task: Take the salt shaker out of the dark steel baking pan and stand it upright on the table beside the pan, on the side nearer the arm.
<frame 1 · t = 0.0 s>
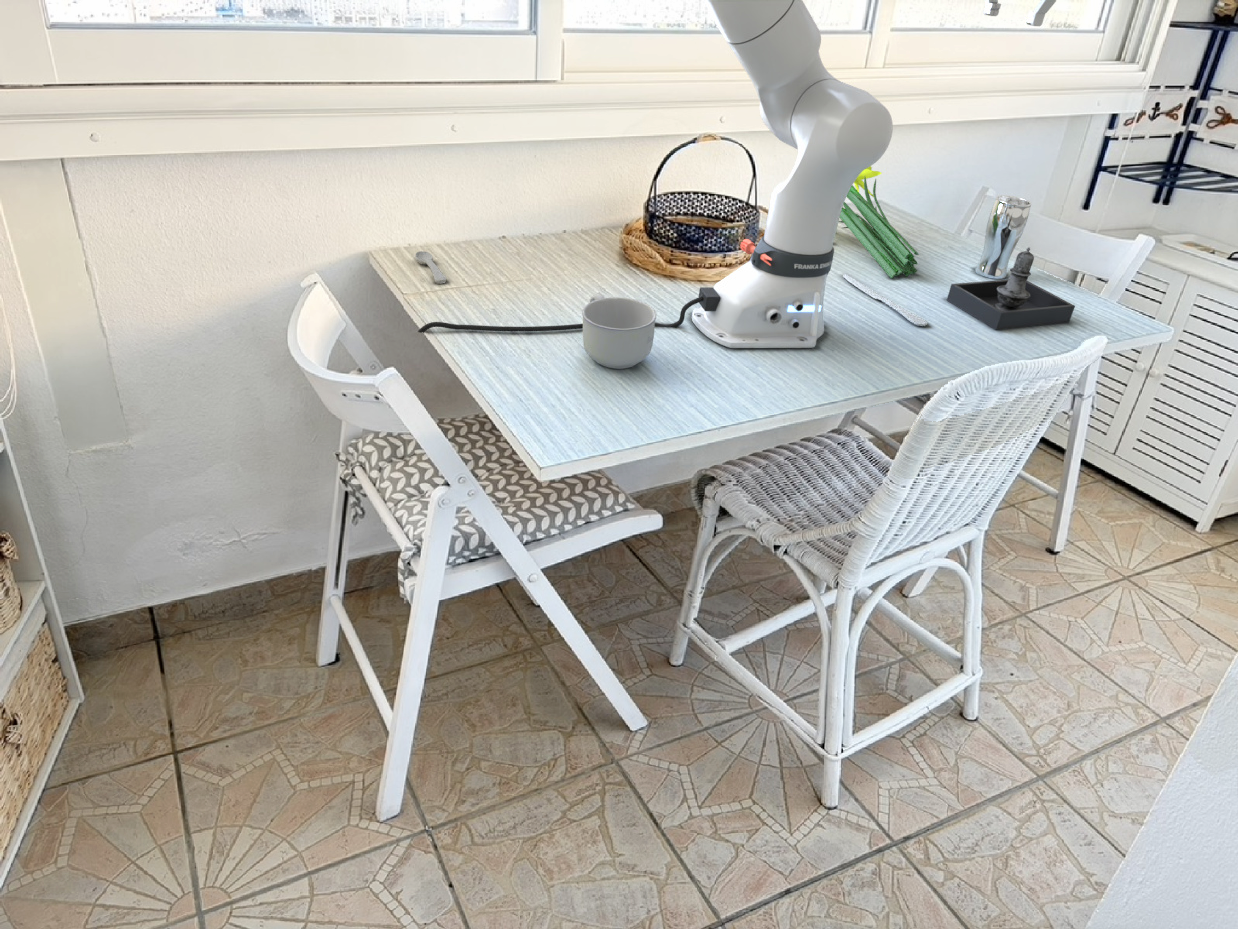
hand: (1011, 20, 141), 48 cm above the table, tool pointing down, fingers open, 8 cm apart
beer glass: (990, 274, 187), on the table
salt shaker: (1007, 310, 170), resting on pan
spoon: (430, 272, 161), on the table
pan: (1007, 311, 170), on the table
daffodil flowers: (863, 251, 192), on the table
butter knife: (881, 300, 169), on the table
teacup: (611, 356, 140), on the table
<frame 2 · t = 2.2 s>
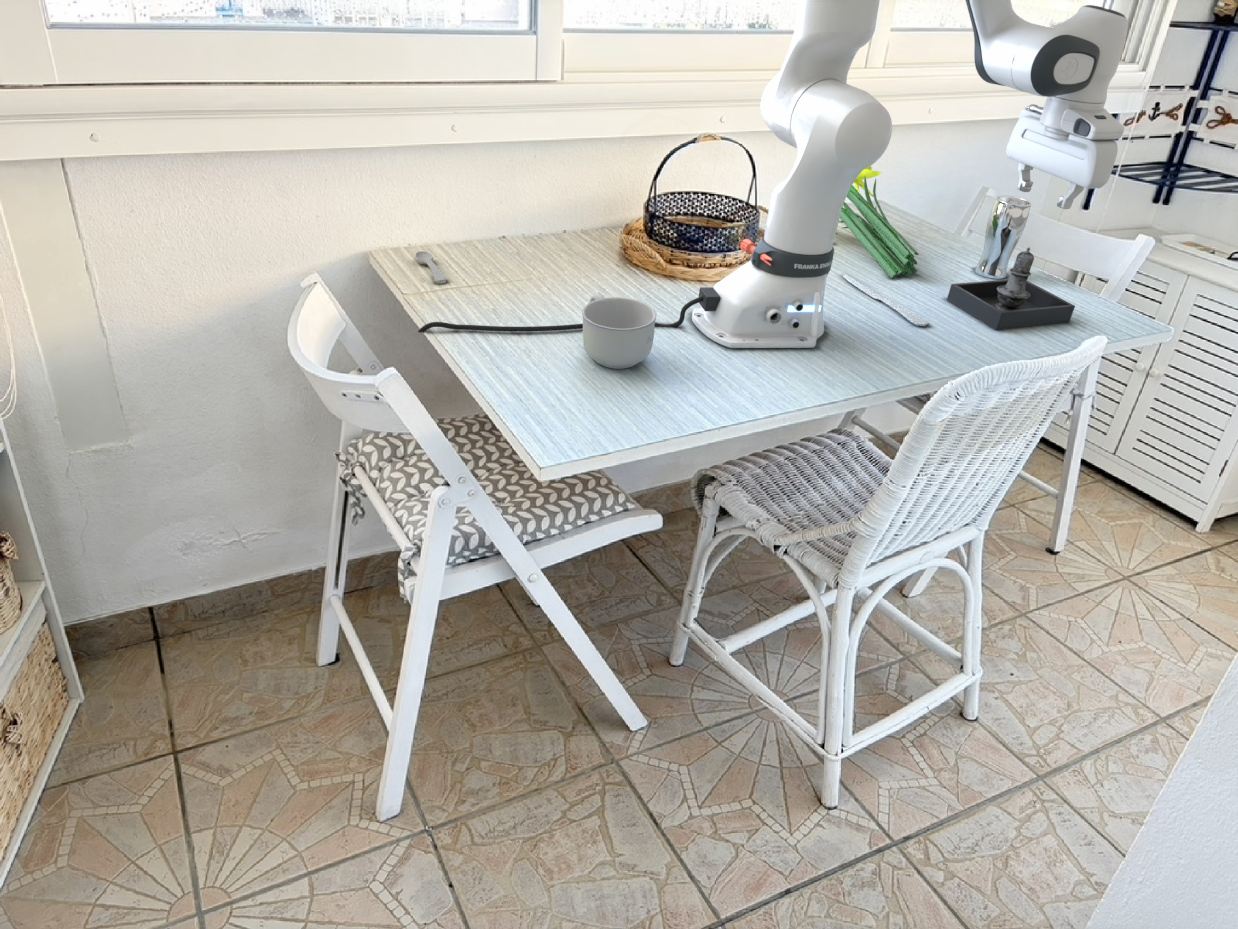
hand: (1042, 199, 159), 21 cm above the table, tool pointing down, fingers open, 8 cm apart
nothing on the table moved.
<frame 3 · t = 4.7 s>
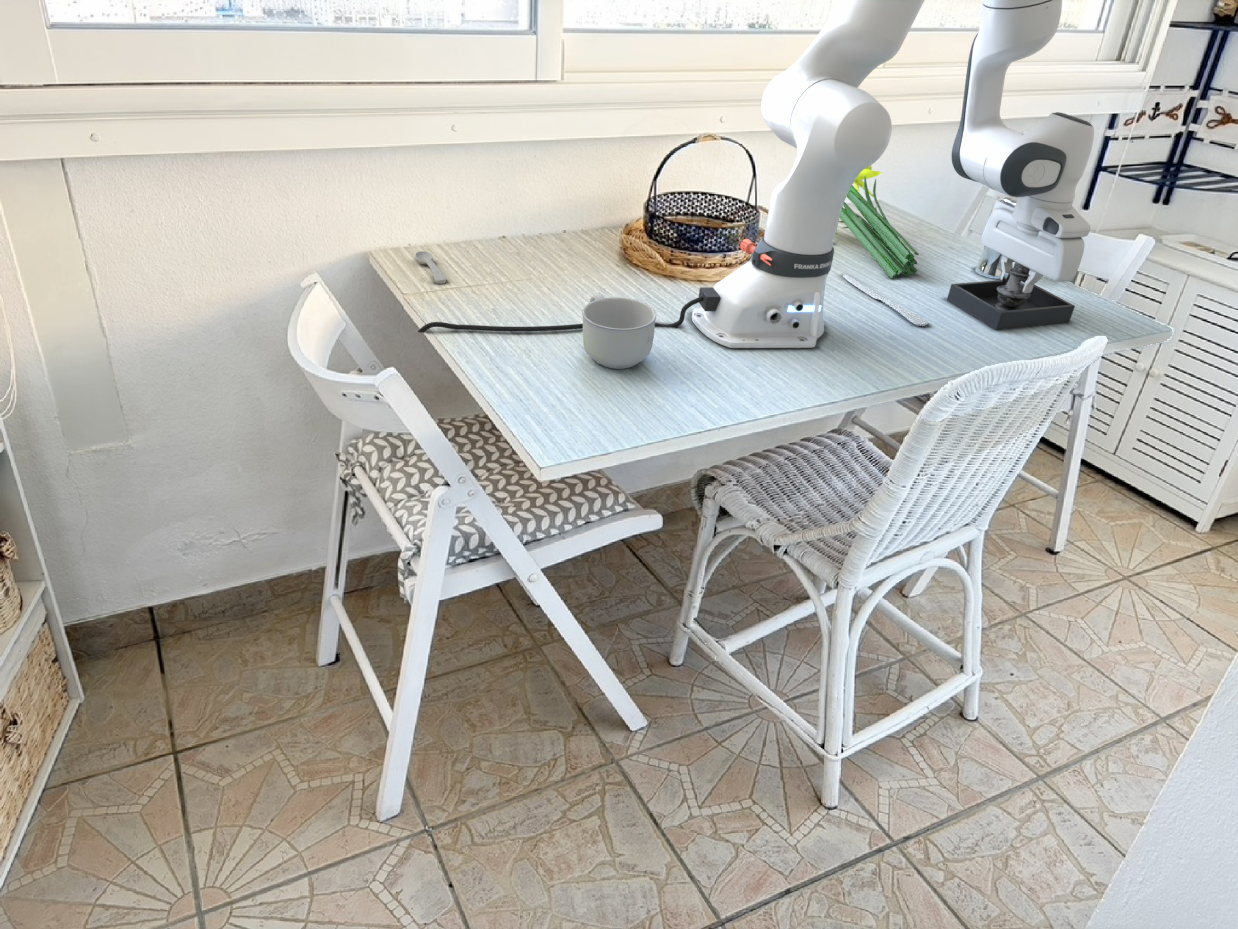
hand: (1015, 286, 168), 5 cm above the table, tool pointing down, fingers closed on salt shaker, 3 cm apart
salt shaker: (1007, 310, 170), resting on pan, touching gripper
everything else where it was.
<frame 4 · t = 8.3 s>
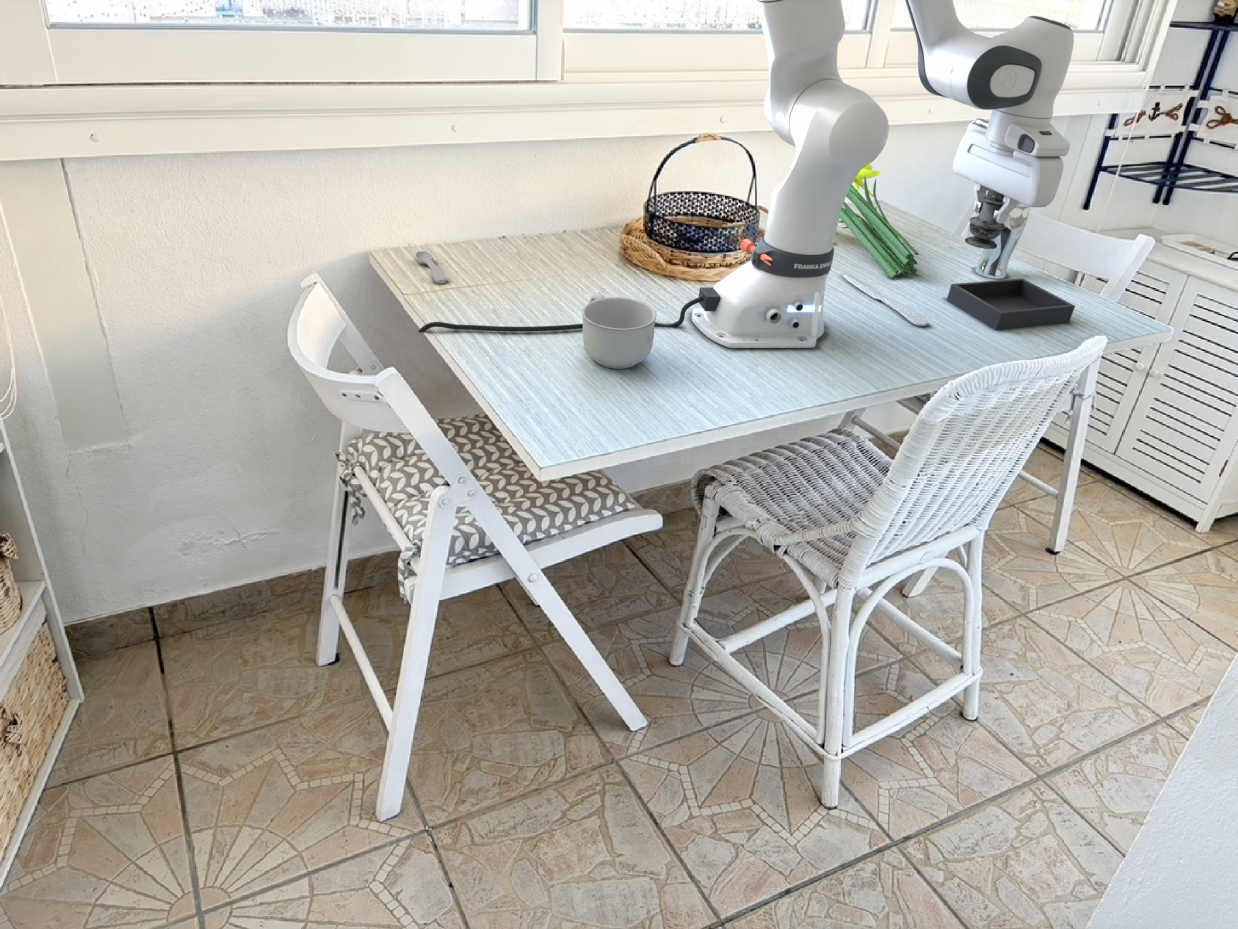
hand: (989, 217, 153), 19 cm above the table, tool pointing down, fingers closed on salt shaker, 3 cm apart
salt shaker: (980, 244, 155), point 14 cm above the table, touching gripper
everything else where it was.
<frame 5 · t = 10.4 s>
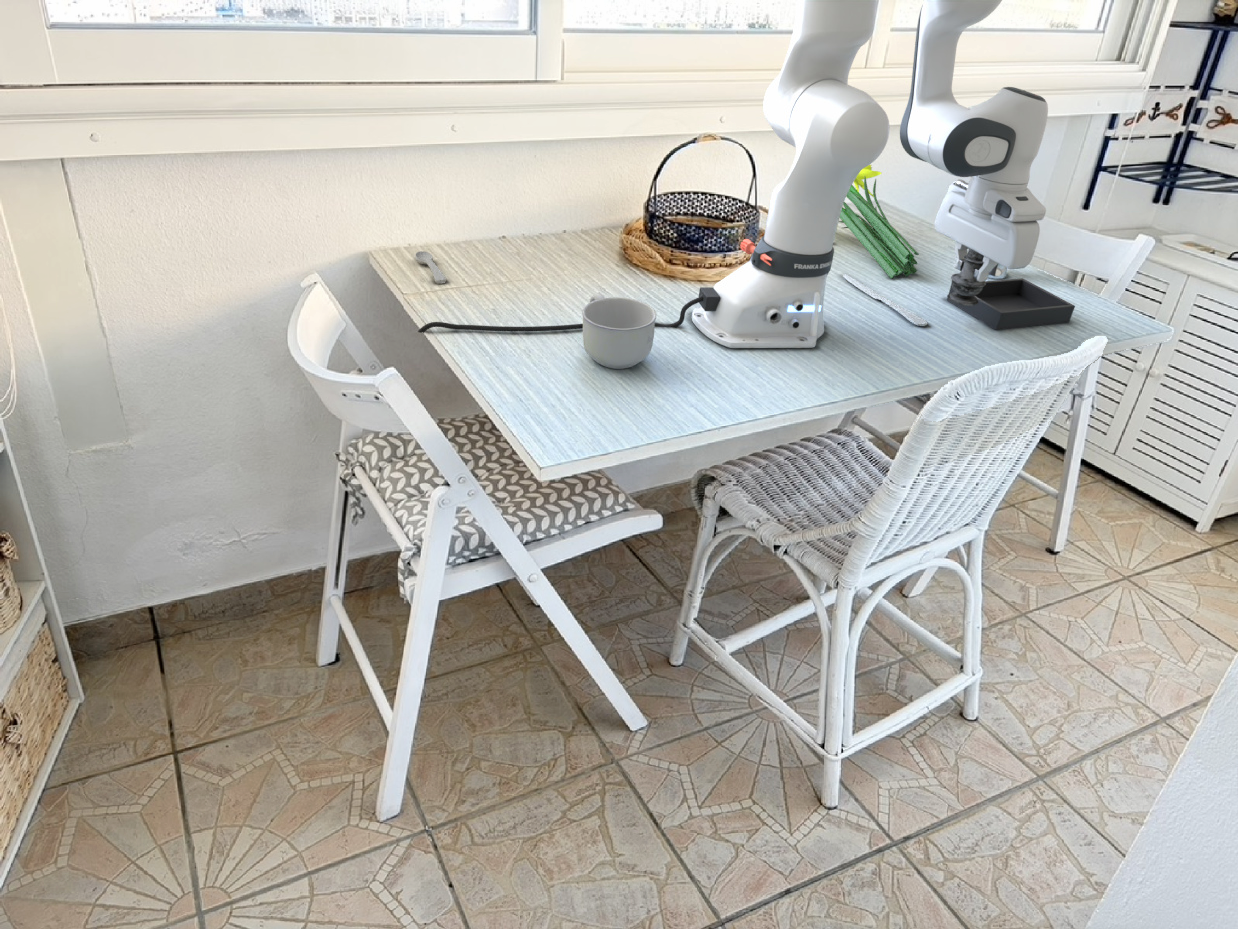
hand: (970, 274, 158), 9 cm above the table, tool pointing down, fingers closed on salt shaker, 3 cm apart
salt shaker: (962, 300, 160), point 4 cm above the table, touching gripper
everything else where it was.
when the fingers open (4 cm above the table, at t = 12.2 s): salt shaker stays where it is, on the table.
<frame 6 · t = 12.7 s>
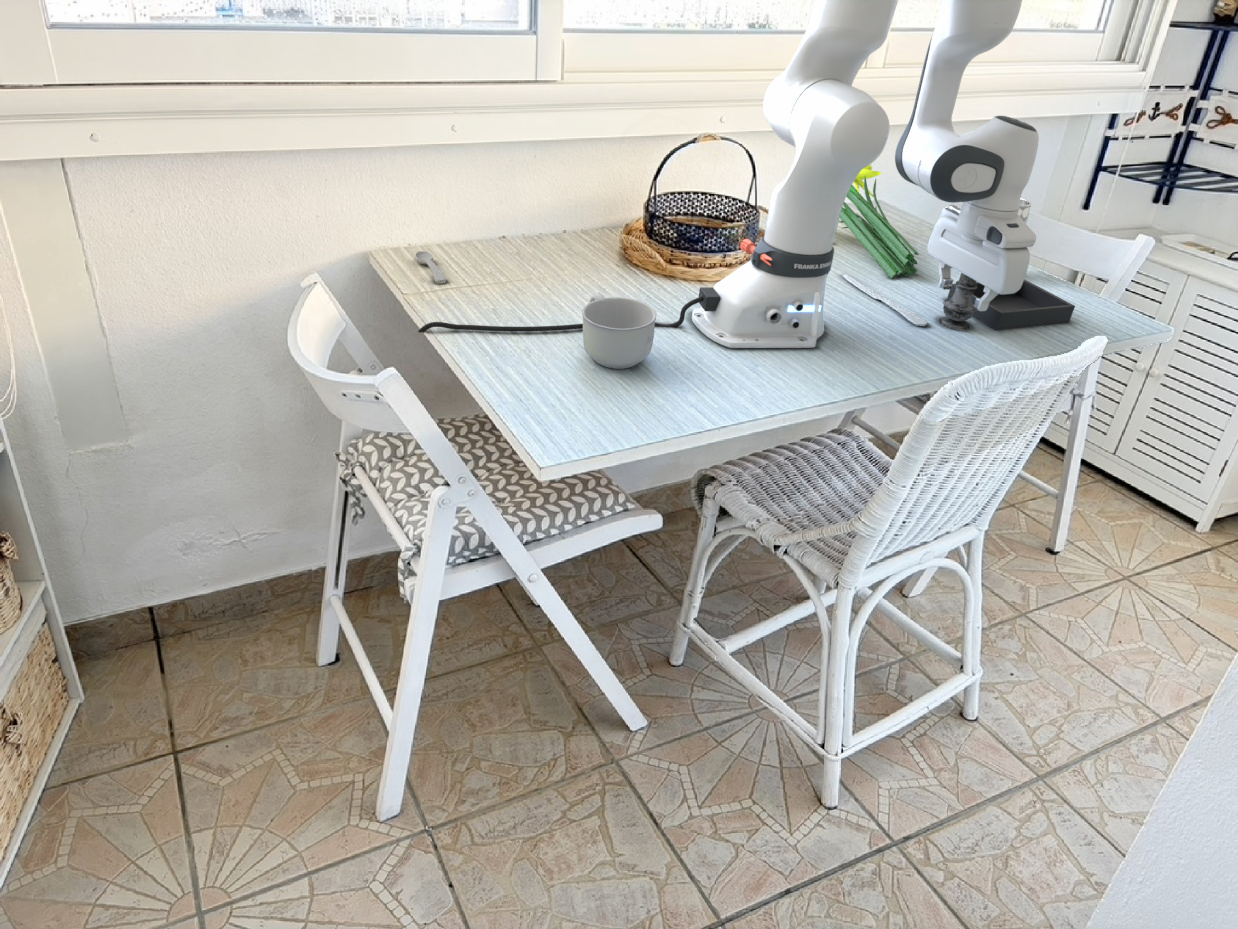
hand: (961, 298, 160), 5 cm above the table, tool pointing down, fingers open, 8 cm apart
salt shaker: (953, 324, 163), on the table
everything else where it was.
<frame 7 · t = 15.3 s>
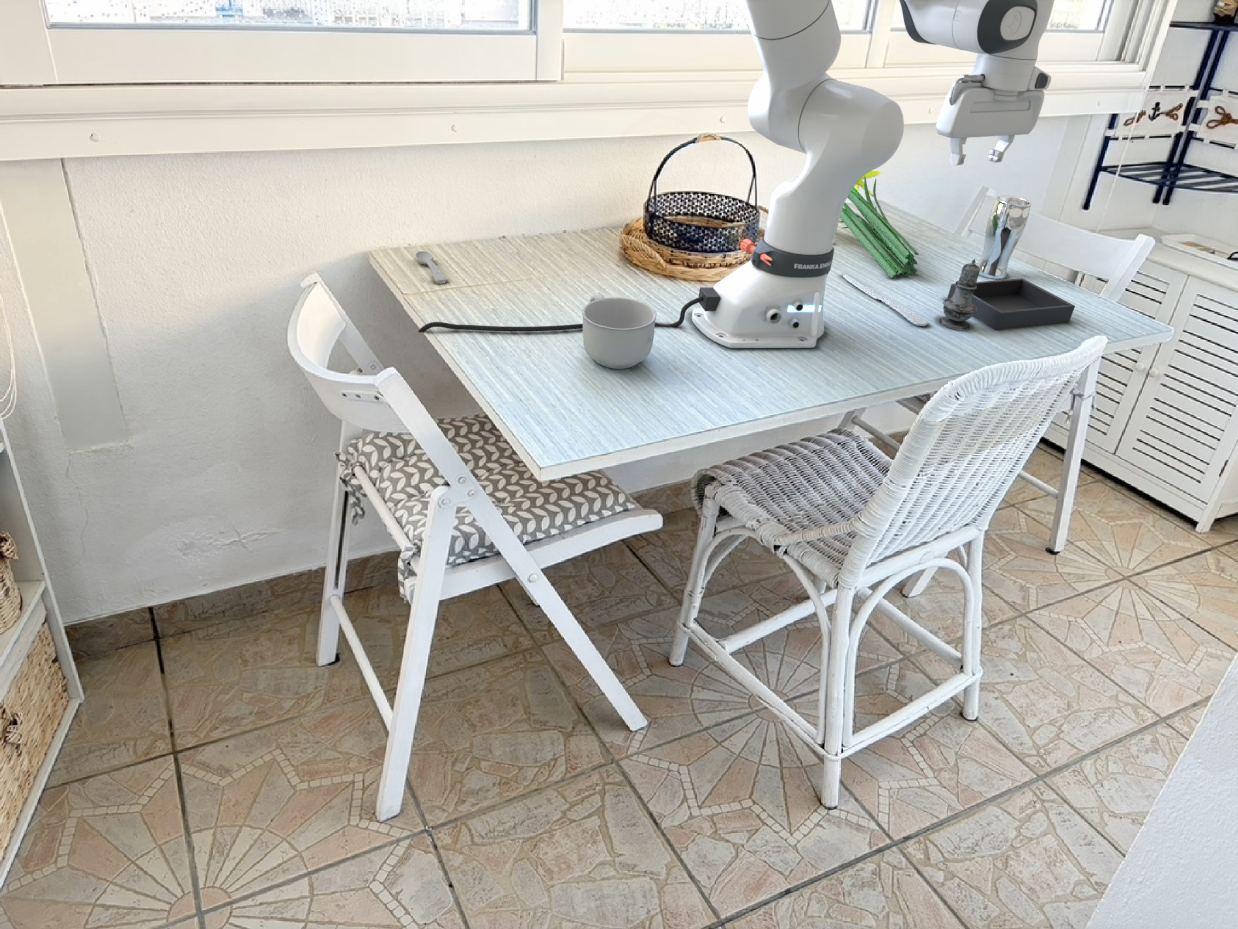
hand: (975, 162, 153), 26 cm above the table, tool pointing down, fingers open, 8 cm apart
nothing on the table moved.
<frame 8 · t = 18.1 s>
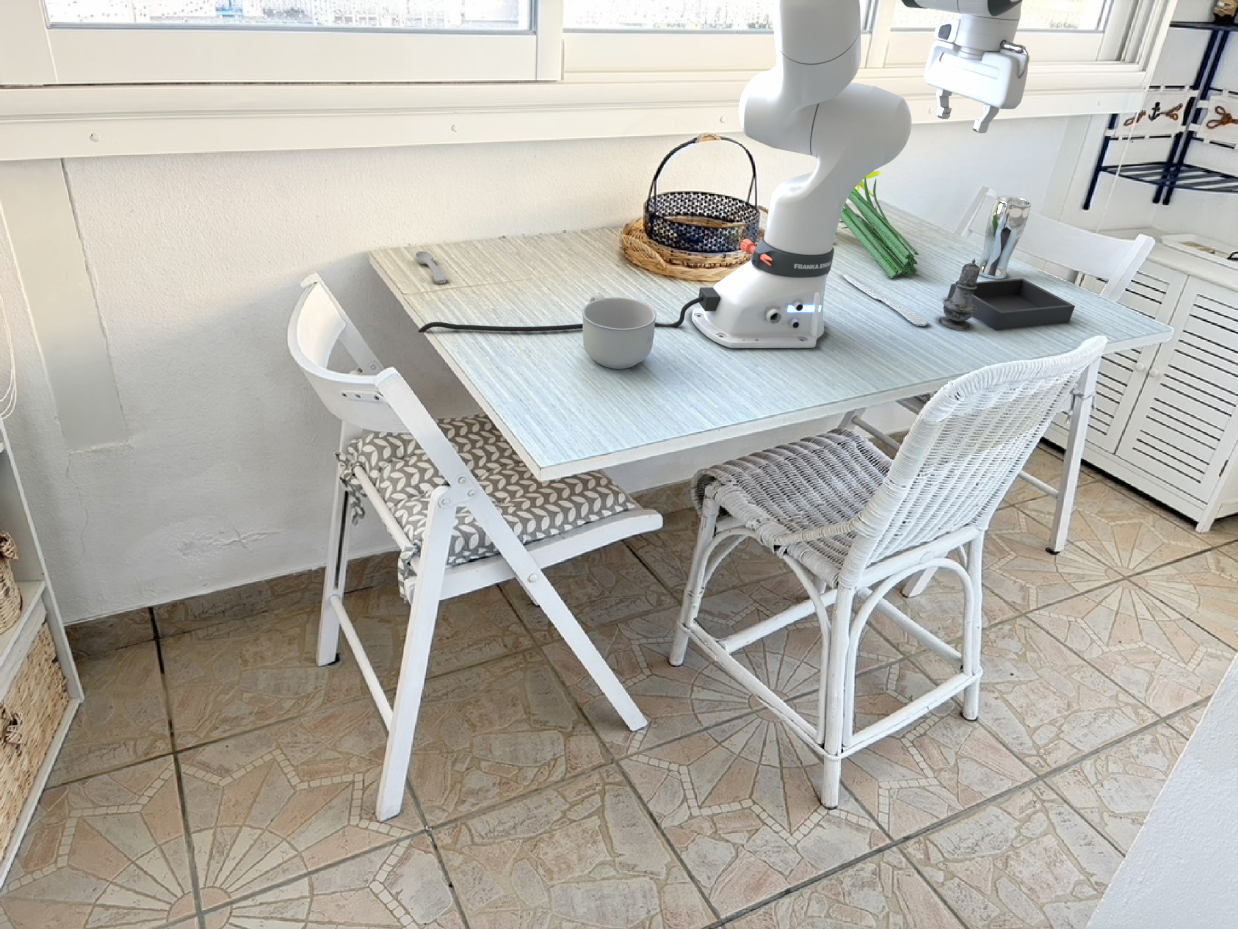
hand: (960, 124, 155), 31 cm above the table, tool pointing down, fingers open, 8 cm apart
nothing on the table moved.
at the end: salt shaker inside the target area (0.7 cm from its centre), on the table; salt shaker tilted 0°; salt shaker touching table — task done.
